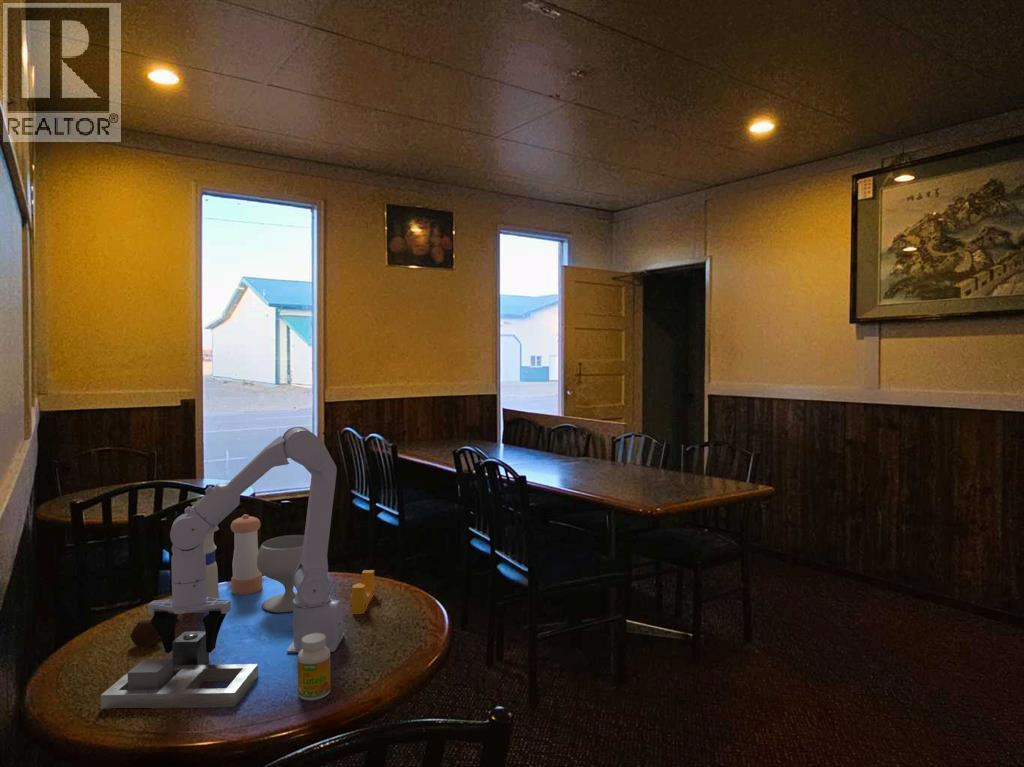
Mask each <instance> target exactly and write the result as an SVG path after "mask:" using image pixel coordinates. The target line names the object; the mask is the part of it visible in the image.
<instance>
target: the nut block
mask: <svg viewBox="0 0 1024 767" xmlns="http://www.w3.org/2000/svg"><path fill="white" fill-rule="evenodd" d="M171 652H172V658H173V665H208V664H209V662H210V655H209V654H210V653H207V651H206V633H205V630H203V631H200V630H199V631H184V632H182V633H181V634H180V635H179V636H178V637H175V640H174V641H173V642H172V651H171Z"/></svg>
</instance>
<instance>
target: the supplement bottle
mask: <svg viewBox="0 0 1024 767" xmlns="http://www.w3.org/2000/svg"><path fill="white" fill-rule="evenodd" d="M325 645H326V636H325V635H324V634H321V633H313V634H308V635H306V636H304V637H303V638H302V650H301V651H300V652H299V653H298V654H297V695H298V697H299V698H300V699H302V700H303V701H316V700H317V701H319V700H320V699H323V698H325V697H327V696H328V695H329V694H330V692H331V690H332V688H331V686H332V685H331V684H332V683H331V652H330V650H329V648H328V647H326V646H325Z"/></svg>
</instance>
